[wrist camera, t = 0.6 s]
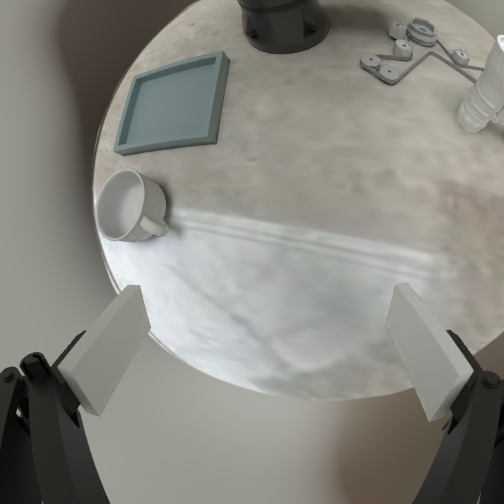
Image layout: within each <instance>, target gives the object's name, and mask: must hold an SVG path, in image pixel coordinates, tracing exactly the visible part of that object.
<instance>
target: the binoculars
mask: <svg viewBox="0 0 504 504" xmlns="http://www.w3.org/2000/svg"><path fill="white" fill-rule="evenodd" d="M503 105H504V35H499V36H498V37H497V40H496V42H495V44H494V45H493V47H492V49H491V51H490V53H489V56H488V59H487V62H486V65H485V68H484V70H483V72H482V74H481V75H480V77H478V79H477V81H476V83H475V85H474V86H473V87H472V88H471V90H470V93H469V94H468V95H467V96H466V98H465V99H463V101H462V102H461V104H460V107H459V108H458V110H457V112H456V116H457V120H458V122H459V124H460V125H461V126H462V127H463V129H465V130H466V131H468V132H470V133H477V132H479V131H480V130H481V129H483V128H484V127H485V126H486V125H487V122H488V121H489V120H490V119H491V120H492V121H493V122H494V123H495V124H497V123H498V122H499V123H501V124H502V125H503V126H504V106H503ZM502 106H503V107H502ZM501 107H502V108H501ZM500 108H501V109H500ZM499 109H500V111H499V112H498V113H497V111H498V110H499Z"/></svg>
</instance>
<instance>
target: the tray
mask: <svg viewBox="0 0 504 504" xmlns="http://www.w3.org/2000/svg"><path fill="white" fill-rule="evenodd" d="M229 62H230V60H229V59H228V57H227V56H226V54H225V53H224V52H223V51H221V52H216V53H211V54H207V55H202V56H198V57H194V58H190V59H187V60H183V61H179V62H176V63H172V64H169V65H166V66H163V67H160V68H156V69H153V70H151V71H148V72H145V73H142V74H139V75H137V76H134V78H133V81H132V84H131V87H130V90H129V93H128V96H127V100H126V103H125V107H124V110H123V114H122V117H121V121H120V125H119V129H118V133H117V137H116V142H115V146H114V151H113V152H116V153H118V154H121V155H123V156H126V155H131V154H137V153H143V152H150V151H156V150H163V149H171V148H179V147H187V146H197V145H208V144H216V143H217V136H218V129H219V122H220V116H221V109H222V103H223V97H224V91H225V85H226V79H227V73H228V68H229Z"/></svg>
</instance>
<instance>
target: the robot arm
mask: <svg viewBox="0 0 504 504" xmlns="http://www.w3.org/2000/svg"><path fill="white" fill-rule="evenodd" d="M237 1H238V3H239V4H240V6H241V8H242V21H243V31H244V33H245V35H246V37H247V39H248V41H249V42H250V44H251V45H253V46H254V47H255V48H257V49H259V50H261V51H265V52H269V53H293V52H298V51H302V50H305V49H308V48H310V47H312V46H314V45H316V44H318V43H319V42H321V41H322V40H323V39H324V38H325V37H326V35H327V33H328V31H329V21H328V16H327V13H326V11H325V10H324V8H323V7H322V6H321V4H320V3H319V2H318V0H237ZM150 328H151V326H150V323H149V319H148V316H147V312H146V308H145V304H144V300H143V296H142V292H141V288H140V285H127V286H126V287H125V288H124V290H123V291H122V292H121V293H120V294H119V295H118V296H117V297H116V298H115V299H114V300H113V302H112V303H111V304H110V305H109V306H108V307H107V308H106V309H105V311H104V312H103V313H102V314H101V315H100V316H99V317H98V319H97V320H96V321H95V322H94V323H93V324H92V325H91V327H90V328H89V329H88V330H87V331H83V332H82V333H80V334H79V335H77V336H76V337H75V338H74V340H73V341H72V342H71V344H69V345H68V347H67V348H66V350H64V352H63V353H62V354H61V355H60V356H59V357H58V359H57V360H56V361H55V362H54V364H53V365H52V366H51V367H50V366H49V364H48V362H47V360H46V359H45V357H44V355H43V354H42V353H39V352H34V353H31V354H28V355H27V356H26V357H24V358H23V359H22V361H21V363H20V368H21V370H22V371H23V373H24V374H25V376H22V375H21V374H20V372H19V370H18V369H17V368H16V367H8V368H6V369H4V370H3V371H2V372H1V373H0V504H42V502H43V504H110V502H109V500H108V497H107V495H106V493H105V490H104V488H103V485H102V483H101V480H100V478H99V475H98V472H97V470H96V467H95V464H94V461H93V458H92V455H91V452H90V448H89V445H88V442H87V438H86V435H85V431H84V427H83V423H82V419H81V415H80V412H79V410H78V407H79V405H80V404H81V405H82V407H83V408H84V410H85V411H86V412H87V413H90V414H93V415H96V416H99V417H100V416H101V414H102V412H103V410H104V409H105V406H106V405H107V403H108V401H109V399H110V397H111V395H112V394H113V392H114V390H115V388H116V387H117V385H118V383H119V381H120V379H121V378H122V375H123V374H124V373H125V371H126V369H127V367H128V366H129V364H130V362H131V360H132V359H133V357H134V355H135V353H136V352H137V350H138V348H139V347H140V345H141V343H142V342H143V340H144V338H145V337H146V335H147V333H148V332H149V330H150ZM385 328H386V330H387V332H388V334H389V336H390V338H391V340H392V342H393V344H394V346H395V348H396V350H397V352H398V354H399V356H400V358H401V360H402V362H403V364H404V366H405V368H406V371H407V373H408V375H409V377H410V379H411V381H412V383H413V386H414V388H415V390H416V392H417V395H418V397H419V399H420V401H421V403H422V406H423V409H424V411H425V413H426V416H427V418H428V421H429V422H431V421H434V420H437V419H440V418H443V417H444V416H445V415H446V413H447V412H448V410H449V409H451V411H452V413H453V414H452V416H451V417H450V418H449V420H448V421H447V422H446V424H445V425H444V426H443V428H442V430H444V429H445V428H446V427H447V428H446V431H445V434H444V437H443V439H442V442H441V444H440V447H439V449H438V452H437V454H436V457H435V459H434V461H433V463H432V466H431V468H430V470H429V472H428V474H427V476H426V478H425V480H424V482H423V484H422V486H421V488H420V490H419V492H418V494H417V496H416V498H415V499H414V501H413V503H412V504H477V501H478V498H479V496H480V493H481V496H480V502H479V504H504V380H501V379H500V377H499V376H498V375H497V374H495V373H493V372H491V371H483V370H482V368H481V367H480V365H479V364H478V363H477V361H476V360H475V358H474V357H473V355H472V354H471V353H470V351H468V348H467V347H466V346H465V345H464V343H463V342H462V340H461V339H460V338H459V336H458V335H456V334H455V333H454V332H452V331H451V330H447V331H446V330H445V329H444V328H443V326H442V325H441V324H440V322H439V321H438V320H437V318H436V317H435V316H434V314H433V313H432V312H431V311H430V309H429V308H428V307H427V306H426V304H425V303H424V302H423V301H422V299H421V298H420V297H419V296H418V295H417V293H416V292H415V291H414V290H413V289H412V287H411V286H410V285H409V284H408V283H400V284H395V288H394V292H393V297H392V301H391V306H390V310H389V314H388V318H387V322H386V326H385ZM17 409H18V410H19V411H20V412H21V415H20V417H19V416H18V415H17V414H16V411H17Z"/></svg>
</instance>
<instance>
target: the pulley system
mask: <svg viewBox="0 0 504 504" xmlns="http://www.w3.org/2000/svg"><path fill="white" fill-rule="evenodd" d="M436 32H437V30H436V28H435V27H434V26H433V25H432V24H431V23H429V22H428V21H427V20H423V19H419V18H413V19H411V20H410V23H409V24H408V25H407V26H406V24H405V23H404V22H402V21H400V20H395V19H390V24H389V35H390V36H392V37H393V38H395V39H397V40H396V41H395V47H394V54H395V56H392V55H376V54H363V55H362V57H361V66H362V67H364V68H366V69H367V70H369V71H370V72H372V73H373V74H375V75H376V76H378V77H379V78H381V79H382V80H383V81H385V82H388V83H391V84H393V83H396V82H398V81H399V80H400V79H401V78H402V77H403V76H405V75H406V74H407V73H408V72H409V71H411V70H412V69H413V68H414V67H415V66H416V65H418V64H419V63H420V62H421V61H423V60H424V59H425V58H426V57H427V56H429V55H432V56H435V57H436V58H438V59H440V60H441V61H443V62H445V63H446V64H448V65H449V66H451V67H452V68H454V69H455V70H457V71H458V72H460V73H461V74H463V75H464V76H465V77H467V78H468V79H469V80H471V81H472V82H474V83H476V81H477V80H476V79H474V78H473V77H472V76H470V75H469V74H467V73H466V72H465V71H463V70H462V69H460V68H468V69H475V70H481V71H483V70H484V68H480V67H474V66H467V64H468V62H469V60H470V57H469V54H468V53H467V52H466V51H465V50H463V49H462V48H458V47H456V48H455V49H454V52H453V55H451V54H450V53H449V52H448V51H447V50H446V48H445V47H444V46H443V45H442V44H441V43H440V42H439V41H438V39H437V35H436ZM406 34H407V39H408V41H407V40H404V38H405V35H406ZM409 38H410V39H411V40H412V41H413V42H415V43H417V44H419V45H422V46H426V47H432V46H433V45H434V44H436V41H437V43H438V44H439V45H440V46H441V47H442V49H443V50H444V51H445V52H446V53H447V55H448V56H449V57H450V59H451V60H452V61H453V62H454V64H456V65H457V66H458V67H457V66H456V65H454V64H452V63H451V62H449V61H448V60H446V59H445V58H443V57H441V56H440V55H438V54H436V53H434V52H428V53H427V54H426V55H424V56H423V57H422V58H421V59H419V60H418V61H417V62H415V63H414V64H413V65H412V66H411V67H409V68H408V69H407V70H406V71H404V72H403V73H402V74H401V75H399V71H398V70H397V69H396V68H394V67H392V66H389V65H385V66H382V67H381V69H380V73H379V72H377V71H376V70H377V69H379V68H380V63H381V62H380V58H383V59H395V60H405V61H408V60H410V59H412V50H413V46H412V44H411V43H410V41H409ZM459 67H460V68H459Z"/></svg>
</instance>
